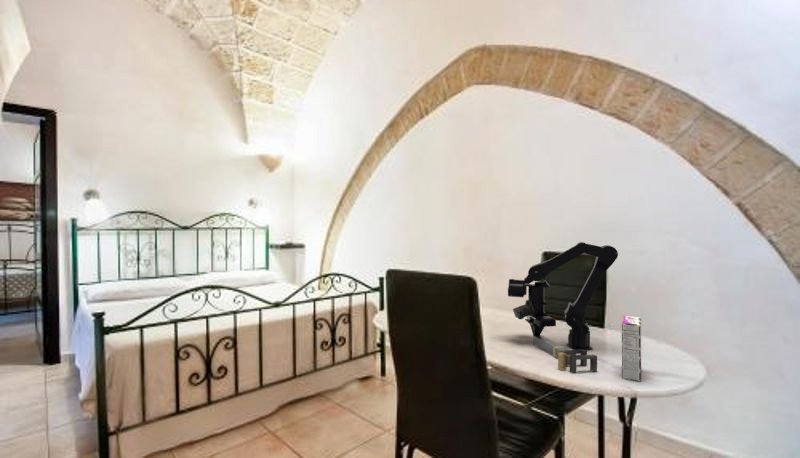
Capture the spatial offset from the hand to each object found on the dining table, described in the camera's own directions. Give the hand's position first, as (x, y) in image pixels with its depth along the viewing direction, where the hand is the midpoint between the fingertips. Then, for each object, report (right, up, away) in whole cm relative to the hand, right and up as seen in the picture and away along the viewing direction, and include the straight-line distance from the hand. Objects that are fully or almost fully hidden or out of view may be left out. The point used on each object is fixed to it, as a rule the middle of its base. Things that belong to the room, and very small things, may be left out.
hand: (535, 339), depth 148 cm
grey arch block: (+4, -2, -24) cm, 25 cm away
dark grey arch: (+4, -2, -29) cm, 30 cm away
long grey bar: (+2, -1, -12) cm, 12 cm away
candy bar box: (+18, -2, -31) cm, 36 cm away
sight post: (-1, -2, -28) cm, 28 cm away
